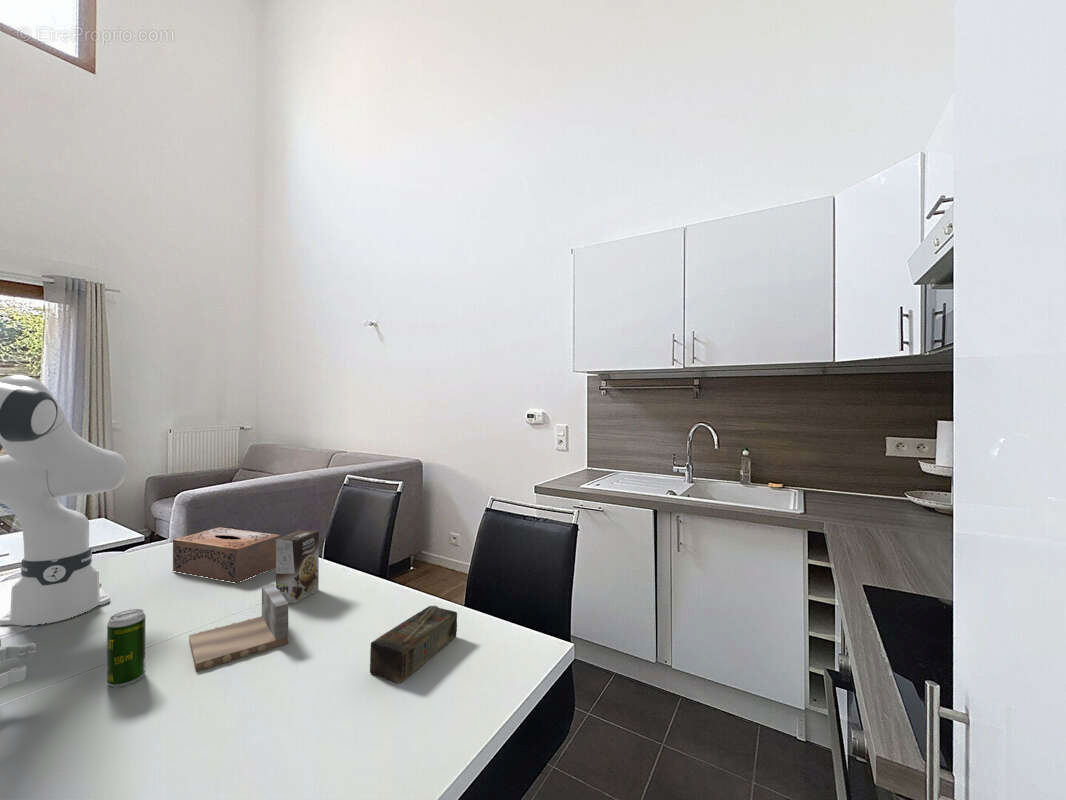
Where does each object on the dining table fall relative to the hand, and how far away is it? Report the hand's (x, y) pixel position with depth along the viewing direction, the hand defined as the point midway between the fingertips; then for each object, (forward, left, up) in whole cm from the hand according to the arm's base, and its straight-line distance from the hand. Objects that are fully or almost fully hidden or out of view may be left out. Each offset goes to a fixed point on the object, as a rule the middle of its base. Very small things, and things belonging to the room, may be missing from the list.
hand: (30, 659), depth 79 cm
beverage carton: (+26, +57, -9) cm, 63 cm away
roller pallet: (-2, +30, -8) cm, 31 cm away
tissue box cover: (-54, +35, -9) cm, 65 cm away
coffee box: (-20, +46, -8) cm, 51 cm away
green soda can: (0, +12, -8) cm, 15 cm away
